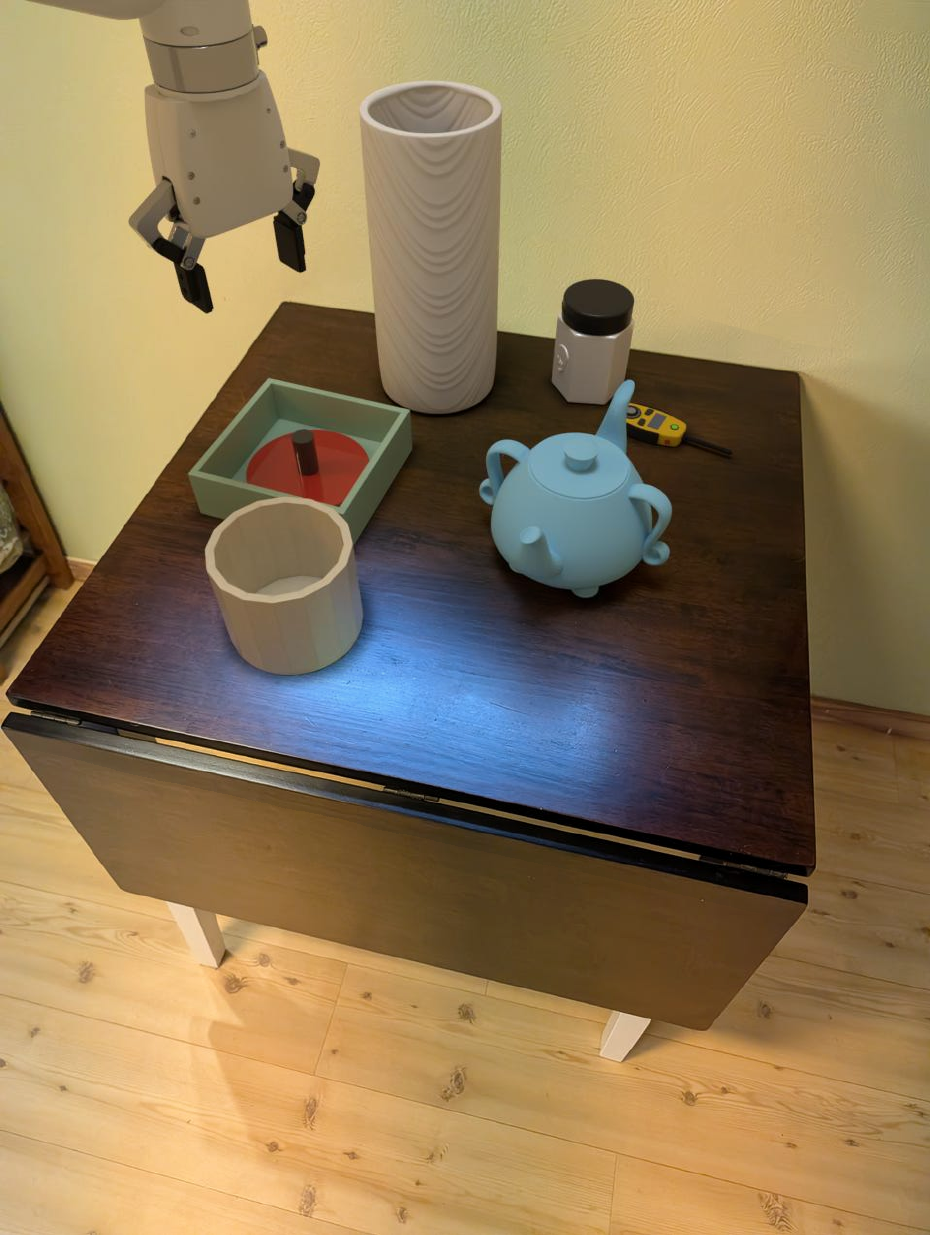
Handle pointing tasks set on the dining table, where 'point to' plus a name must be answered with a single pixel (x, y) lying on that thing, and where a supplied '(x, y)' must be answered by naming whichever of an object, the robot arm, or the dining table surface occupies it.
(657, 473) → the dining table surface
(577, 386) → the jar
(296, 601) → the pot
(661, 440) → the remote control
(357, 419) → the green square tray
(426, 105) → the vase
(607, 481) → the teapot
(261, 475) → the lid
